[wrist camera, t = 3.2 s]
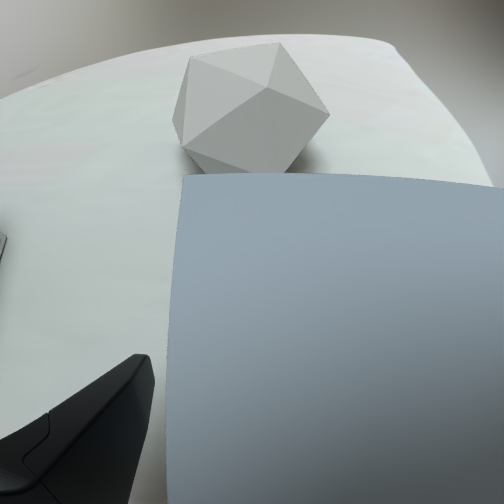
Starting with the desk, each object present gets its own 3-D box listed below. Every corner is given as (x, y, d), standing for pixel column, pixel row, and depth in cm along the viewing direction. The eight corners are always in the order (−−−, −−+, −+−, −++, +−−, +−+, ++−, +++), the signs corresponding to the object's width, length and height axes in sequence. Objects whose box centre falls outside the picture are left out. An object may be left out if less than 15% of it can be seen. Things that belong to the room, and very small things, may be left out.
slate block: (341, 449, 13) (564, 505, 1) (236, 456, 13) (180, 620, 1) (336, 352, 15) (520, 191, 4) (234, 357, 15) (183, 175, 4)
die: (286, 117, 24) (207, 27, 18) (373, 131, 18) (285, -5, 11) (221, 196, 24) (123, 113, 18) (295, 238, 17) (161, 114, 11)
